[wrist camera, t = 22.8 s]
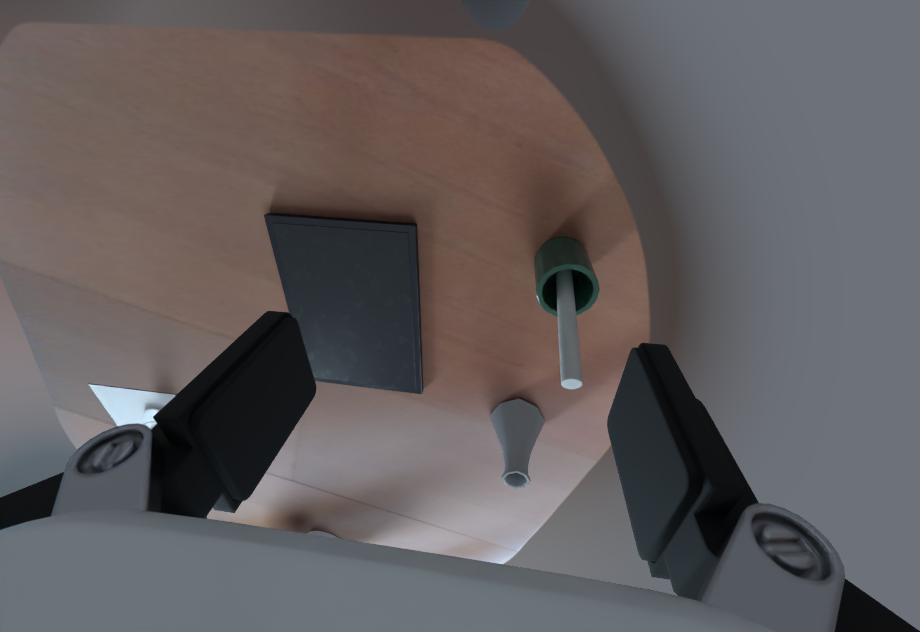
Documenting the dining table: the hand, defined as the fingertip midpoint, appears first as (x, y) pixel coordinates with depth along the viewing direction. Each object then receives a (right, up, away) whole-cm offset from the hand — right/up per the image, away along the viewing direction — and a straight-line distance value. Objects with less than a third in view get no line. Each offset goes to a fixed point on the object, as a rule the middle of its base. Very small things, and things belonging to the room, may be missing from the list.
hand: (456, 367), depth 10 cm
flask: (+8, -13, +41) cm, 44 cm away
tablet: (-13, +2, +36) cm, 38 cm away
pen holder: (+11, +7, +28) cm, 31 cm away
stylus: (+11, +7, +27) cm, 30 cm away
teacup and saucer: (-54, -19, +56) cm, 80 cm away
